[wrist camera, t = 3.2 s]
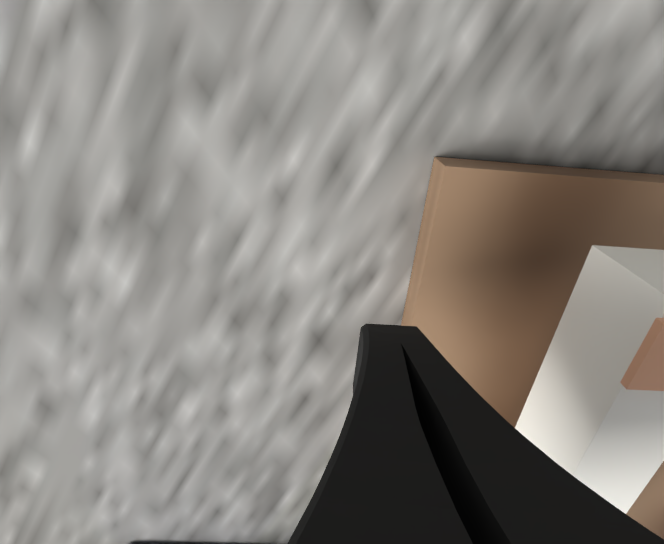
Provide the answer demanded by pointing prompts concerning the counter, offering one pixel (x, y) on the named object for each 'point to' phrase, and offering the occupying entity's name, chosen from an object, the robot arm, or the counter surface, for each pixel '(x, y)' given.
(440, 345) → the board
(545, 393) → the white long piece
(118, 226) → the counter surface
